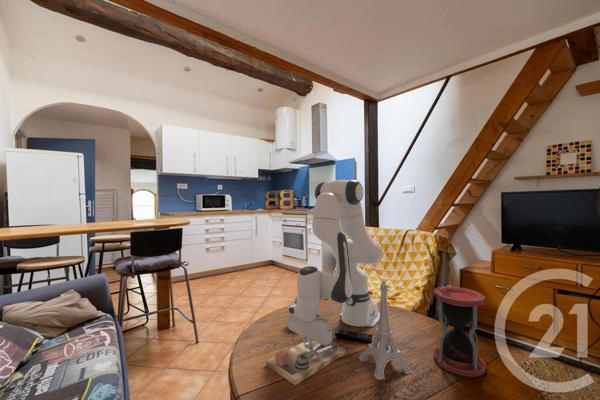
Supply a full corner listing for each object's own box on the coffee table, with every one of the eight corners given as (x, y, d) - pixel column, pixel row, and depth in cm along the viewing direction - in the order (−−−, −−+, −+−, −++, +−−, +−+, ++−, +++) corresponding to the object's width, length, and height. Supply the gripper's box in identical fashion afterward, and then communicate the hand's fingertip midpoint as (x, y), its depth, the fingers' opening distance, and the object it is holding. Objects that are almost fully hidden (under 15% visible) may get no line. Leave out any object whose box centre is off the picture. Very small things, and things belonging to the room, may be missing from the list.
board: (315, 339, 116) (315, 335, 116) (345, 353, 106) (345, 349, 106) (266, 365, 98) (266, 360, 98) (295, 385, 87) (295, 379, 87)
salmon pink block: (282, 359, 98) (282, 349, 98) (287, 363, 96) (287, 353, 96) (275, 363, 96) (275, 353, 96) (281, 366, 94) (281, 356, 94)
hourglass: (460, 348, 109) (459, 284, 109) (497, 373, 93) (497, 298, 93) (424, 353, 106) (423, 287, 106) (456, 380, 90) (455, 302, 90)
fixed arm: (300, 371, 92) (300, 364, 92) (292, 365, 96) (292, 358, 96) (340, 352, 103) (340, 346, 103) (331, 347, 107) (331, 341, 107)
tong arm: (303, 369, 92) (303, 363, 92) (294, 365, 95) (294, 359, 95) (329, 345, 108) (329, 339, 108) (320, 342, 110) (320, 337, 110)
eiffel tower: (377, 380, 90) (377, 287, 90) (358, 358, 103) (357, 277, 103) (412, 373, 94) (412, 284, 94) (389, 352, 107) (389, 274, 107)
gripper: (335, 316, 99) (336, 355, 99) (296, 302, 114) (296, 336, 114) (324, 322, 95) (324, 363, 95) (284, 306, 109) (284, 341, 109)
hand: (308, 348), depth 104 cm, fingers closed
